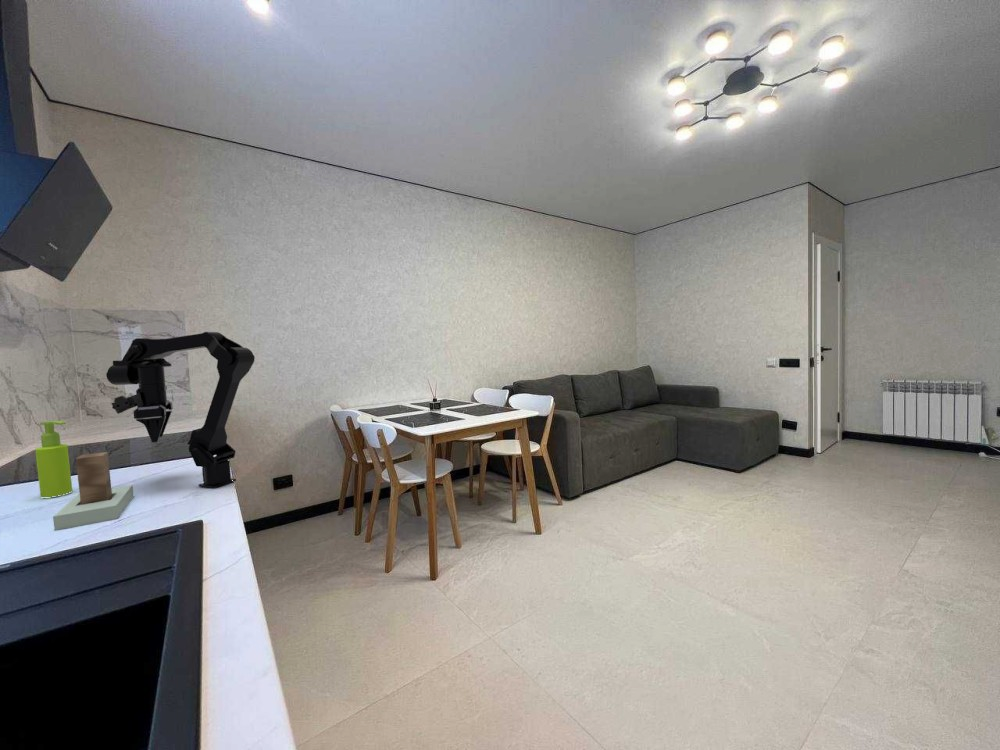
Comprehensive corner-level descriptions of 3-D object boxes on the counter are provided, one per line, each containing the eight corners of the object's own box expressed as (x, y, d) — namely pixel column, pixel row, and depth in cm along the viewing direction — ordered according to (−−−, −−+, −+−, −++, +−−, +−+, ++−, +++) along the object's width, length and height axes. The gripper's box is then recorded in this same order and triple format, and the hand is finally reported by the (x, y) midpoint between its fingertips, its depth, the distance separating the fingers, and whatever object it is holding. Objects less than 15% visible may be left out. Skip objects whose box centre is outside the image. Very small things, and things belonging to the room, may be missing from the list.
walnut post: (112, 502, 102) (107, 451, 101) (108, 507, 98) (102, 455, 97) (87, 506, 99) (81, 454, 99) (81, 512, 96) (75, 458, 95)
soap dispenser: (59, 498, 110) (51, 422, 108) (34, 499, 110) (25, 423, 108) (82, 490, 115) (74, 418, 114) (58, 491, 116) (50, 419, 114)
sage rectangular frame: (80, 505, 104) (79, 493, 103) (133, 496, 109) (132, 484, 109) (54, 530, 88) (53, 516, 88) (117, 518, 94) (116, 505, 94)
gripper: (121, 384, 119) (126, 438, 120) (103, 388, 104) (110, 450, 105) (170, 381, 125) (175, 432, 126) (161, 384, 110) (166, 443, 111)
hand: (157, 439), depth 117 cm, fingers open, 9 cm apart
